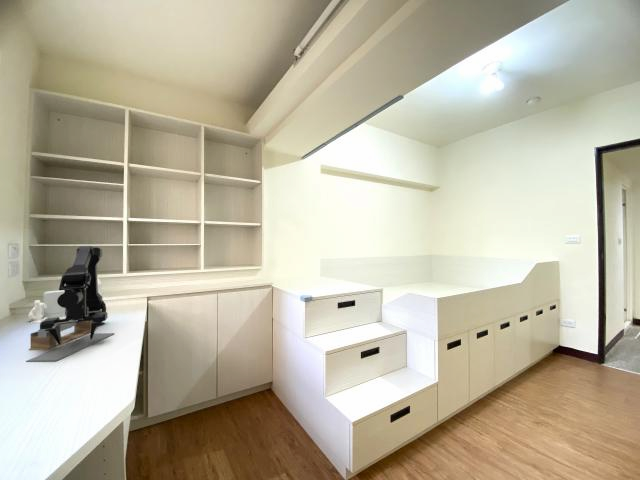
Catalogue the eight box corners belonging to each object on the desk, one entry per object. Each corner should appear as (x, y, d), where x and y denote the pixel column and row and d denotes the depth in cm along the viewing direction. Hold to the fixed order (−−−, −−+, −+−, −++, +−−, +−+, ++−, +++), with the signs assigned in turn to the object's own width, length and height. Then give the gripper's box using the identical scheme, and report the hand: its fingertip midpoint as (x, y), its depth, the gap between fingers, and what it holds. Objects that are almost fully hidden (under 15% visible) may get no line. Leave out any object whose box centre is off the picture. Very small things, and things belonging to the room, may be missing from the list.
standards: (80, 331, 117) (80, 317, 118) (95, 330, 118) (95, 317, 118) (28, 351, 96) (28, 334, 96) (48, 350, 96) (48, 333, 96)
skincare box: (66, 314, 145) (66, 289, 145) (65, 317, 140) (65, 290, 140) (45, 317, 139) (45, 291, 140) (43, 320, 135) (43, 292, 135)
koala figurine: (45, 323, 130) (45, 300, 130) (25, 326, 125) (25, 302, 126) (48, 319, 136) (48, 297, 136) (30, 322, 132) (30, 299, 132)
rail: (81, 320, 117) (81, 314, 117) (88, 320, 118) (88, 313, 118) (38, 337, 96) (38, 330, 96) (46, 337, 97) (46, 329, 97)
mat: (114, 334, 113) (114, 333, 113) (56, 361, 87) (56, 360, 87) (91, 334, 113) (91, 333, 113) (26, 362, 87) (26, 360, 87)
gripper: (109, 296, 112) (109, 331, 112) (50, 301, 102) (50, 339, 102) (105, 300, 102) (105, 339, 102) (39, 307, 92) (39, 349, 92)
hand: (76, 341), depth 100 cm, fingers open, 9 cm apart
